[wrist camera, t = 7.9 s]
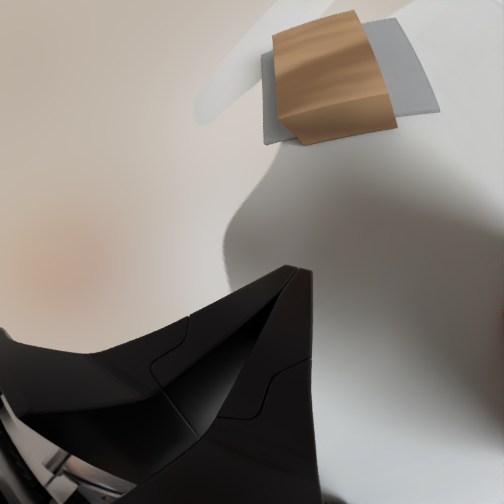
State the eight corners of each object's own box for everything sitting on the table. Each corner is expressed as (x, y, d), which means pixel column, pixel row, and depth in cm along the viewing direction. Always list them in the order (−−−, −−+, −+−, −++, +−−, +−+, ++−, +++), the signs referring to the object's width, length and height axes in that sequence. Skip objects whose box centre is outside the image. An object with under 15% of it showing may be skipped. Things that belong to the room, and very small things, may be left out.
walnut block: (388, 93, 12) (354, 9, 13) (277, 119, 16) (272, 35, 17) (397, 127, 15) (369, 43, 16) (304, 145, 19) (295, 62, 20)
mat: (439, 111, 13) (439, 108, 13) (266, 145, 21) (263, 143, 21) (396, 20, 15) (395, 17, 14) (263, 57, 23) (261, 54, 22)
